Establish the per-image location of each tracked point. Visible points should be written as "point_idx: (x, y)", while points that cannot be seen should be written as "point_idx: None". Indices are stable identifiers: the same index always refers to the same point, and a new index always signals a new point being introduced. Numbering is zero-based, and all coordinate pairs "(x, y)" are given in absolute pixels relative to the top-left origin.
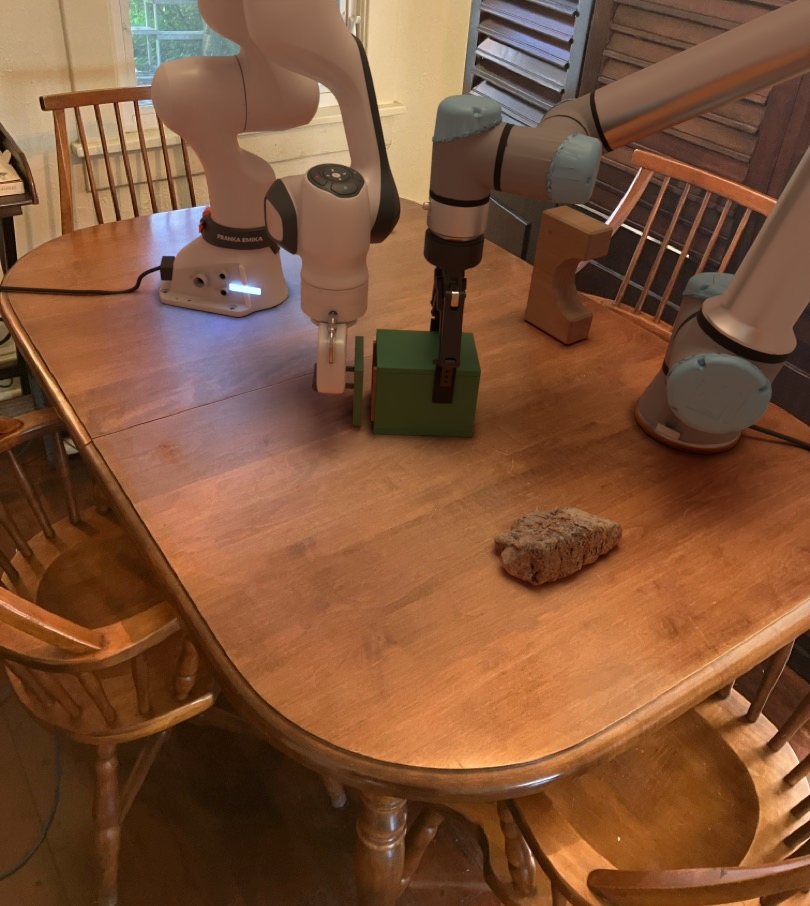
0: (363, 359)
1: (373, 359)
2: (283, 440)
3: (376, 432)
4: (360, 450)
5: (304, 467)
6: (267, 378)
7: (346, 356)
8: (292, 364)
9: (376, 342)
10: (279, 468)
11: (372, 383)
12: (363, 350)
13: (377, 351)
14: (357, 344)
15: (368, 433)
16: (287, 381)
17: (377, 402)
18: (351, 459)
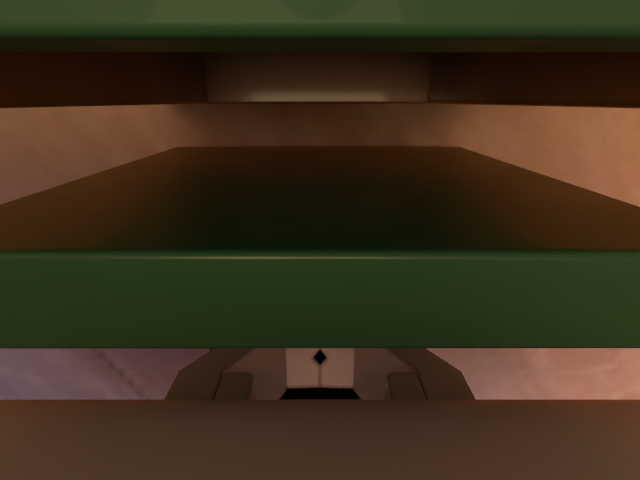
0: (480, 249)
1: (120, 95)
2: (483, 384)
3: None
4: (577, 144)
5: None
6: None
7: (421, 430)
8: (41, 389)
9: (3, 48)
10: (619, 384)
11: (197, 96)
12: (253, 253)
13: (496, 21)
14: (112, 325)
15: (468, 112)
16: (152, 396)
17: None
18: (626, 178)
